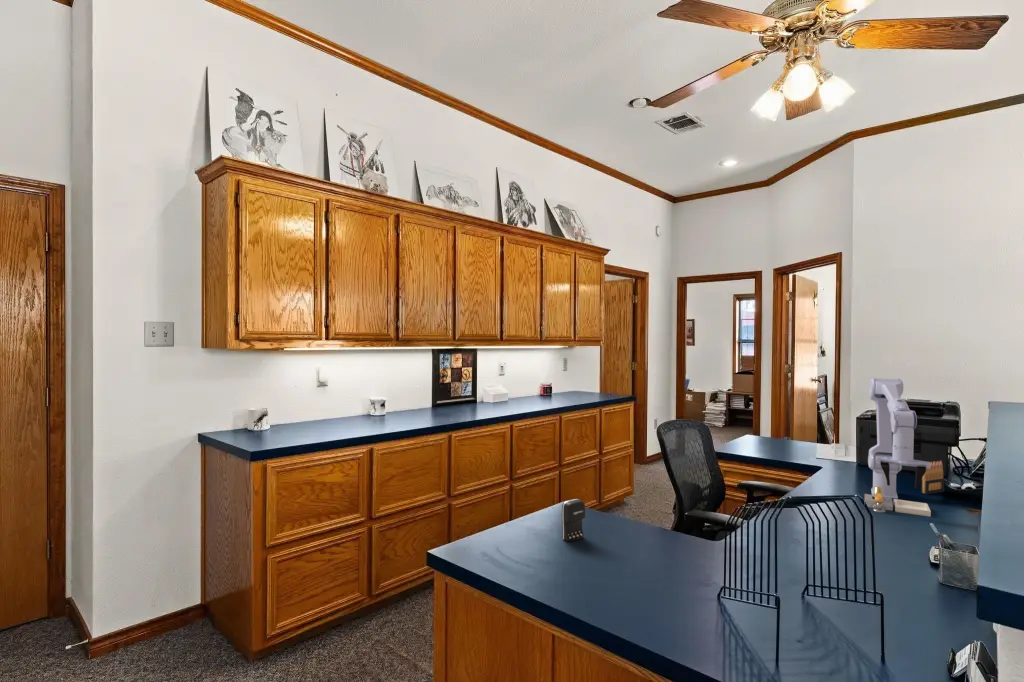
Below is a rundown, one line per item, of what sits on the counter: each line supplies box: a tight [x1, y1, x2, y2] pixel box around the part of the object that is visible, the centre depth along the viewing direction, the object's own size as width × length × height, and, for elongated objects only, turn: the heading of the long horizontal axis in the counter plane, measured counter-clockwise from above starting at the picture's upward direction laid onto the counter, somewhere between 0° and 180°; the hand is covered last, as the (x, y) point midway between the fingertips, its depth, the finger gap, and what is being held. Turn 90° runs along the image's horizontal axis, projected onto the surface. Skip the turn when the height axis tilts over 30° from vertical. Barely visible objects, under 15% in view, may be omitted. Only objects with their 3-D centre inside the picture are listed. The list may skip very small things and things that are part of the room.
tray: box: [892, 498, 932, 517], centre depth 187 cm, size 10×10×2 cm
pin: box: [874, 486, 883, 499], centre depth 192 cm, size 2×2×6 cm
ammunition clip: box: [920, 460, 945, 495], centre depth 208 cm, size 11×2×12 cm, turn 110°
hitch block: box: [864, 493, 894, 514], centre depth 190 cm, size 13×8×3 cm, turn 148°
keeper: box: [875, 494, 884, 502], centre depth 188 cm, size 7×3×1 cm, turn 148°
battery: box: [561, 498, 586, 542], centre depth 161 cm, size 7×4×11 cm, turn 123°
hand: (902, 486), depth 182 cm, fingers open, 7 cm apart
